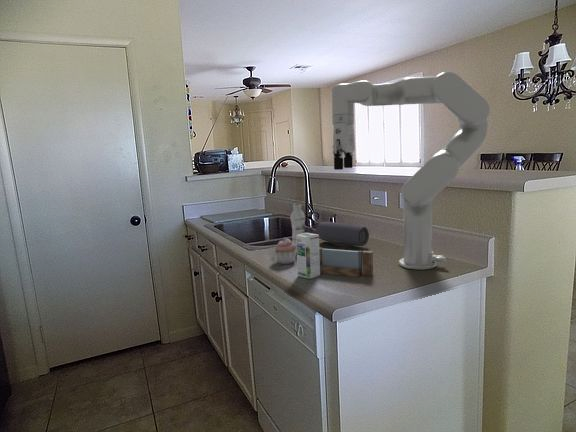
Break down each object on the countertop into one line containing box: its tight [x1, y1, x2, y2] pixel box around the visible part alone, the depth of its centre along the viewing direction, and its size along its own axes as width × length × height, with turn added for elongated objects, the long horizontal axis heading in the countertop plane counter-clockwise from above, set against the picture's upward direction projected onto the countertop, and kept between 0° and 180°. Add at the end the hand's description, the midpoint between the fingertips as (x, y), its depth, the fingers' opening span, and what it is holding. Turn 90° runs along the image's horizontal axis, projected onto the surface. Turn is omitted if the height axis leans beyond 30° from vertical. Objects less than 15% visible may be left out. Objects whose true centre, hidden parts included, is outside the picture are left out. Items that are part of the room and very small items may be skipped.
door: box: [322, 248, 363, 275], centre depth 131 cm, size 14×1×8 cm, turn 63°
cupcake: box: [273, 236, 297, 265], centre depth 146 cm, size 9×9×10 cm
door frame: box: [319, 246, 374, 278], centre depth 130 cm, size 23×4×8 cm, turn 63°
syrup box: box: [296, 232, 321, 280], centre depth 128 cm, size 6×6×14 cm
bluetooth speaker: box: [315, 221, 370, 248], centre depth 168 cm, size 23×9×10 cm, turn 46°
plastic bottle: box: [289, 203, 306, 249], centre depth 162 cm, size 6×7×20 cm
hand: (343, 168), depth 138 cm, fingers open, 9 cm apart
